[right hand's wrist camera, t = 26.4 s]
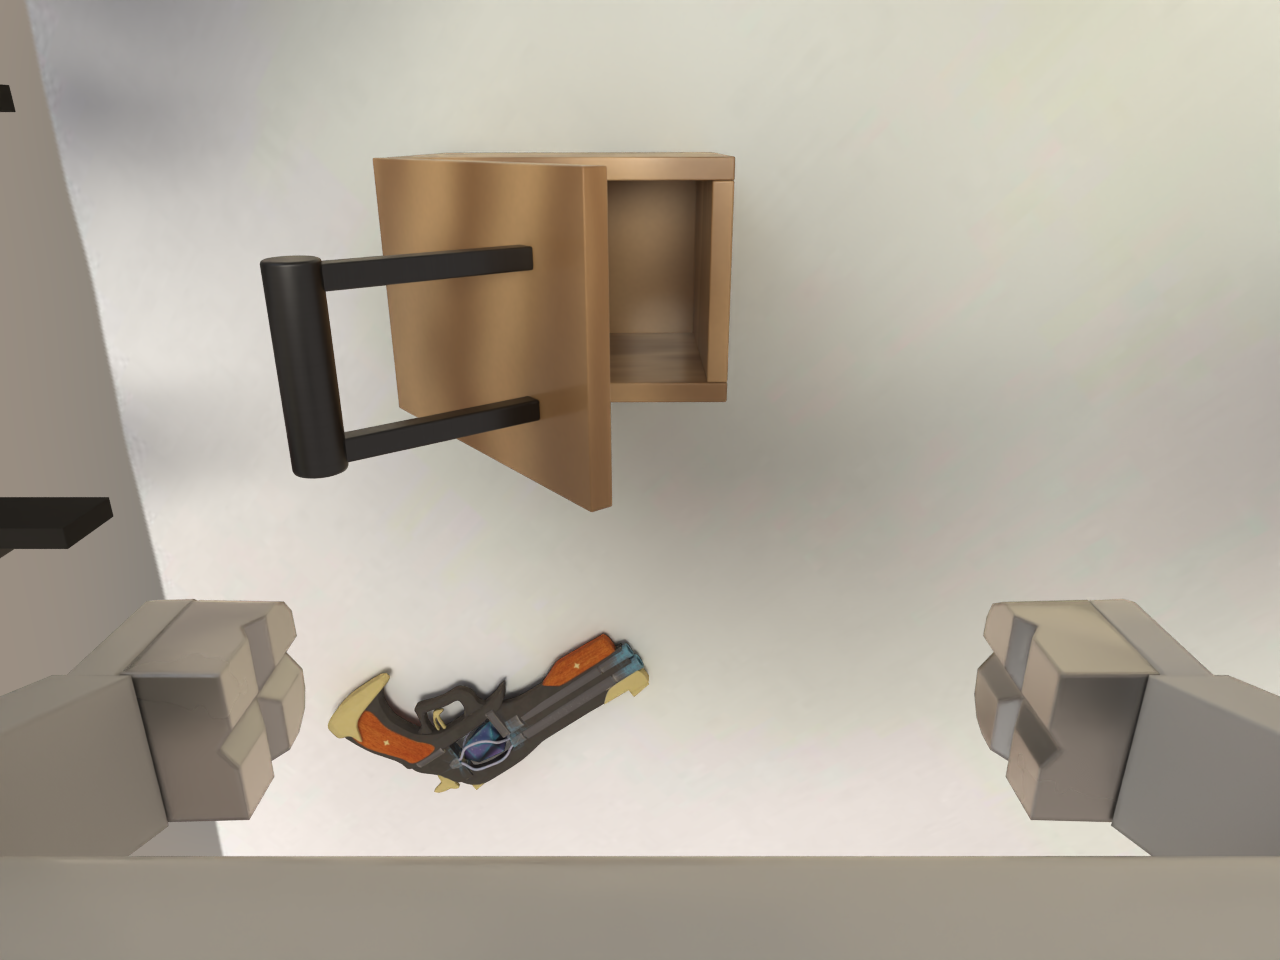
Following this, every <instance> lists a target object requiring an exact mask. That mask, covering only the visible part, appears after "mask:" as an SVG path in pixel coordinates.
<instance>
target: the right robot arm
mask: <svg viewBox="0 0 1280 960" xmlns="http://www.w3.org/2000/svg"><path fill="white" fill-rule="evenodd" d="M296 636H297V634H296V629H295V624H294V620H293V615H292V610H291V609H290V608H289V607H288V606H287V605H286V604H285V602H280V601H226V600H198V601H197V600H195V599H178V600H154V601H146V602H145V603H144V604H143V605H142V606H141V607H140V608H139V609H138V610H136V611H135V612H134V613H133V614H132V615H131V616H130V617H129V618H128V619H127V620H126V621H125V622H124V623H122V624H121V625H120V626H119V627H118V628H117V629H116V630H115V631H114V632H113V633H112V634H111V635H109V636H108V637H107V638H106V639H105V640H104V641H103V642H102V643H101V644H100V645H99V646H98V647H96V648H95V649H94V650H93V651H92V652H91V653H90V654H89V655H88V656H87V657H86V658H85V659H84V660H82V661H81V662H80V663H79V664H78V665H77V666H76V667H75V668H74V669H73V670H72V671H71V672H69V673H68V674H67V675H52V676H49V677H47V678H44V679H42V680H39V681H37V682H34V683H32V684H30V685H27V686H25V687H22V688H20V689H17V690H15V691H12V692H10V693H8V694H5V695H3V696H0V960H1280V696H1277V695H1275V694H1272V693H1270V692H1268V691H1265V690H1263V689H1260V688H1258V687H1255V686H1253V685H1250V684H1248V683H1246V682H1243V681H1241V680H1238V679H1236V678H1233V677H1231V676H1229V675H1213V674H1212V673H1211V672H1210V671H1208V670H1207V669H1206V668H1205V667H1204V666H1203V665H1202V664H1201V663H1200V662H1199V661H1198V660H1197V659H1196V658H1194V657H1193V656H1192V655H1191V654H1190V653H1189V652H1188V651H1187V650H1186V649H1185V648H1184V647H1183V646H1182V645H1180V644H1179V643H1178V642H1177V641H1176V640H1175V639H1174V638H1173V637H1172V636H1171V635H1170V634H1169V633H1168V632H1166V631H1165V630H1164V629H1163V628H1162V627H1161V626H1160V625H1159V624H1158V623H1157V622H1156V621H1155V620H1154V619H1152V618H1151V617H1150V616H1149V615H1148V614H1147V613H1146V612H1145V611H1144V610H1143V609H1142V608H1141V607H1140V606H1138V605H1137V604H1136V603H1135V602H1132V601H1129V600H1125V599H1109V600H1063V601H1022V602H1000V603H993V604H992V606H991V608H990V610H989V613H988V615H987V617H986V623H985V628H984V634H983V636H984V638H985V639H986V641H987V642H988V644H989V645H990V647H991V649H992V650H993V653H992V655H991V656H990V657H989V658H988V659H987V660H986V661H985V662H984V663H983V664H982V665H981V666H980V667H979V668H978V670H977V678H976V686H975V693H974V695H975V706H976V717H977V720H978V724H979V727H980V730H981V733H982V735H983V737H984V739H985V741H986V743H987V745H988V746H989V748H990V750H992V751H993V752H995V753H997V754H998V755H1000V756H1001V757H1003V758H1005V759H1006V760H1008V766H1007V772H1006V778H1007V780H1008V782H1009V783H1010V785H1011V787H1012V788H1013V790H1014V792H1015V794H1016V795H1017V797H1018V799H1019V800H1020V802H1021V804H1022V806H1023V807H1024V809H1025V811H1026V812H1027V814H1028V816H1029V818H1030V819H1031V820H1055V821H1092V822H1112V824H1111V826H1113V827H1114V828H1115V829H1117V830H1118V831H1119V832H1121V833H1122V834H1123V835H1125V836H1126V837H1127V838H1129V839H1130V840H1131V841H1133V842H1134V843H1135V844H1137V845H1138V846H1139V847H1141V848H1142V849H1143V850H1145V851H1146V852H1147V853H1149V854H1150V855H1151V856H129V855H130V854H132V853H133V852H134V851H136V850H137V849H138V848H140V847H141V846H142V845H144V844H145V843H146V842H148V841H149V840H150V839H152V838H153V837H154V836H156V835H157V834H158V833H160V832H161V831H162V830H164V829H165V828H166V827H168V822H187V821H223V820H249V819H250V818H251V816H252V814H253V813H254V811H255V809H256V807H257V806H258V804H259V802H260V801H261V799H262V797H263V795H264V794H265V792H266V790H267V788H268V787H269V785H270V783H271V782H272V780H273V778H274V772H273V766H272V760H274V759H275V758H277V757H279V756H280V755H282V754H283V753H285V752H287V751H288V750H290V748H291V746H292V745H293V743H294V741H295V739H296V737H297V735H298V733H299V731H300V727H301V723H302V718H303V714H304V710H305V683H304V676H303V670H302V668H301V667H300V666H299V665H298V664H297V663H296V662H295V661H294V660H293V659H292V658H291V657H290V656H289V655H288V653H287V650H288V649H289V647H290V645H291V644H292V642H293V641H294V639H295V638H296Z"/></svg>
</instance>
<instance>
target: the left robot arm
mask: <svg viewBox="0 0 1280 960" xmlns="http://www.w3.org/2000/svg"><path fill="white" fill-rule="evenodd" d="M0 112H15V108H14V104H13V100H12V95H11V91H10V87H9V85H0ZM112 517H113V513H112V509H111V504H110V500H109V497H0V558H1V557H3V556H4V555H6V554H7V553H9V552H10V551H12V550H13V549H68V548H70V547H71V546H73V545H74V544H75V543H77V542H78V541H80V540H81V539H82V538H84V537H85V536H87V535H88V534H89V533H91V532H92V531H94V530H95V529H96V528H98V527H99V526H101V525H102V524H103V523H105V522H106V521H108V520H109V519H110V518H112Z"/></svg>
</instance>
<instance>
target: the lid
mask: <svg viewBox="0 0 1280 960" xmlns="http://www.w3.org/2000/svg"><path fill="white" fill-rule="evenodd" d="M373 166H374V175H375V184H376V194H377V203H378V212H379V222H380V231H381V240H382V250H383V256H374V257H362V258H350V259H338V260H326V261H321V259H320V258H318V257H315V256H280V257H272V258H266V259H264V260H261V262H260V268H261V275H262V281H263V287H264V293H265V300H266V306H267V312H268V319H269V325H270V331H271V338H272V344H273V350H274V357H275V363H276V369H277V376H278V382H279V388H280V395H281V401H282V407H283V413H284V420H285V426H286V432H287V439H288V445H289V451H290V458H291V464H292V470H293V473H294V474H295V475H296V476H298V477H302V478H325V477H330V476H334V475H337V474H339V473H342V472H343V471H345V470H346V469H347V468H348V462H352V461H356V460H361V459H365V458H370V457H375V456H379V455H384V454H388V453H393V452H397V451H402V450H406V449H411V448H416V447H420V446H425V445H429V444H434V443H438V442H443V441H447V440H452V439H458V440H460V441H462V442H464V443H465V444H467V445H469V446H471V447H473V448H475V449H476V450H478V451H480V452H482V453H484V454H486V455H487V456H489V457H491V458H493V459H495V460H496V461H498V462H500V463H502V464H504V465H506V466H507V467H509V468H511V469H513V470H515V471H517V472H518V473H520V474H522V475H524V476H526V477H528V478H529V479H531V480H533V481H535V482H537V483H539V484H540V485H542V486H544V487H546V488H548V489H550V490H551V491H553V492H555V493H557V494H559V495H561V496H562V497H564V498H566V499H568V500H570V501H572V502H573V503H575V504H577V505H579V506H581V507H583V508H584V509H586V510H588V511H590V512H594V511H597V510H601V509H604V508H607V507H611V506H612V467H611V401H610V335H609V269H608V203H607V166H605V165H578V164H551V163H524V162H497V161H470V160H443V159H416V158H373ZM383 285H386V287H387V296H388V306H389V315H390V324H391V334H392V343H393V352H394V362H395V371H396V380H397V389H398V399H399V407H400V408H401V409H403V410H405V411H407V412H409V413H410V414H412V415H414V416H416V417H418V418H414V419H409V420H404V421H399V422H394V423H389V424H384V425H379V426H374V427H369V428H364V429H359V430H354V431H349V432H344V427H343V419H342V412H341V404H340V397H339V389H338V382H337V374H336V367H335V359H334V352H333V344H332V336H331V329H330V321H329V314H328V306H327V299H326V291H335V290H345V289H354V288H364V287H374V286H383Z"/></svg>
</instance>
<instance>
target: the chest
mask: <svg viewBox="0 0 1280 960" xmlns="http://www.w3.org/2000/svg"><path fill="white" fill-rule="evenodd" d="M387 158H416V159H443V160H470V161H497V162H524V163H551V164H578V165H605V166H607V203H608V269H609V335H610V401H611V402H726V400H727V373H728V345H729V317H730V288H731V260H732V232H733V204H734V181H733V180H734V177H735V157H733V156H728V155H723V154H718V153H712V152H627V153H439V154H426V155H413V156H400V157H387Z"/></svg>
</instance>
